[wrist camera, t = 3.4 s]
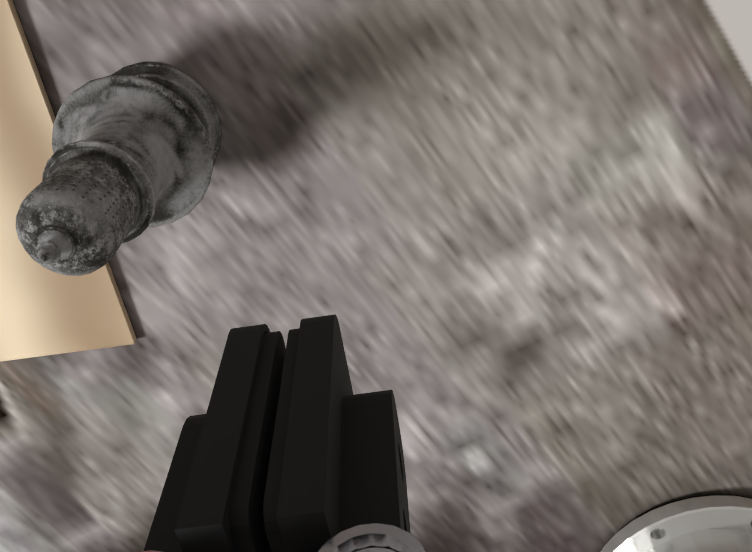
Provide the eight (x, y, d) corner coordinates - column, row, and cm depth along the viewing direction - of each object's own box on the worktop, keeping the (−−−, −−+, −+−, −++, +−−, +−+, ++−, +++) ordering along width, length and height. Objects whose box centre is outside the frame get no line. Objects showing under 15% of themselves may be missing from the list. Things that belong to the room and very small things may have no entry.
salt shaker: (157, 23, 28) (29, 107, 17) (257, 141, 30) (199, 278, 19) (54, 113, 29) (-122, 240, 19) (157, 218, 32) (52, 384, 21)
